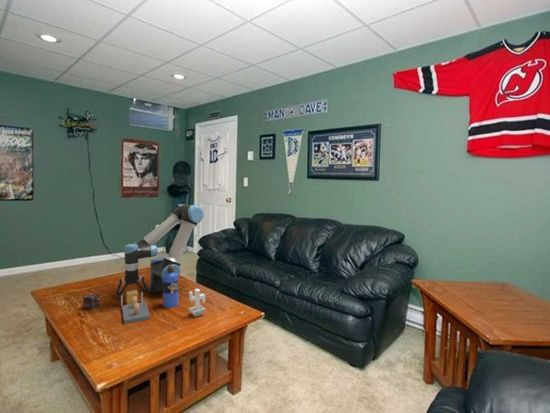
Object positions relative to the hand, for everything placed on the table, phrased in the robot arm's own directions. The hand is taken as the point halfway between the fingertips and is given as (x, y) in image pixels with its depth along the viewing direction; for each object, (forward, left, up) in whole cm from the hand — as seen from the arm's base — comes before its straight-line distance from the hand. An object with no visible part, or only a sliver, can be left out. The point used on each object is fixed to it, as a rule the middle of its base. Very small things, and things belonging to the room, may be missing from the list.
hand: (132, 303), depth 190 cm
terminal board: (-1, +16, 0) cm, 16 cm away
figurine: (-32, +33, 0) cm, 46 cm away
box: (+22, -6, 0) cm, 23 cm away
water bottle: (-21, +12, 0) cm, 24 cm away
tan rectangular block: (0, 0, 0) cm, 0 cm away
